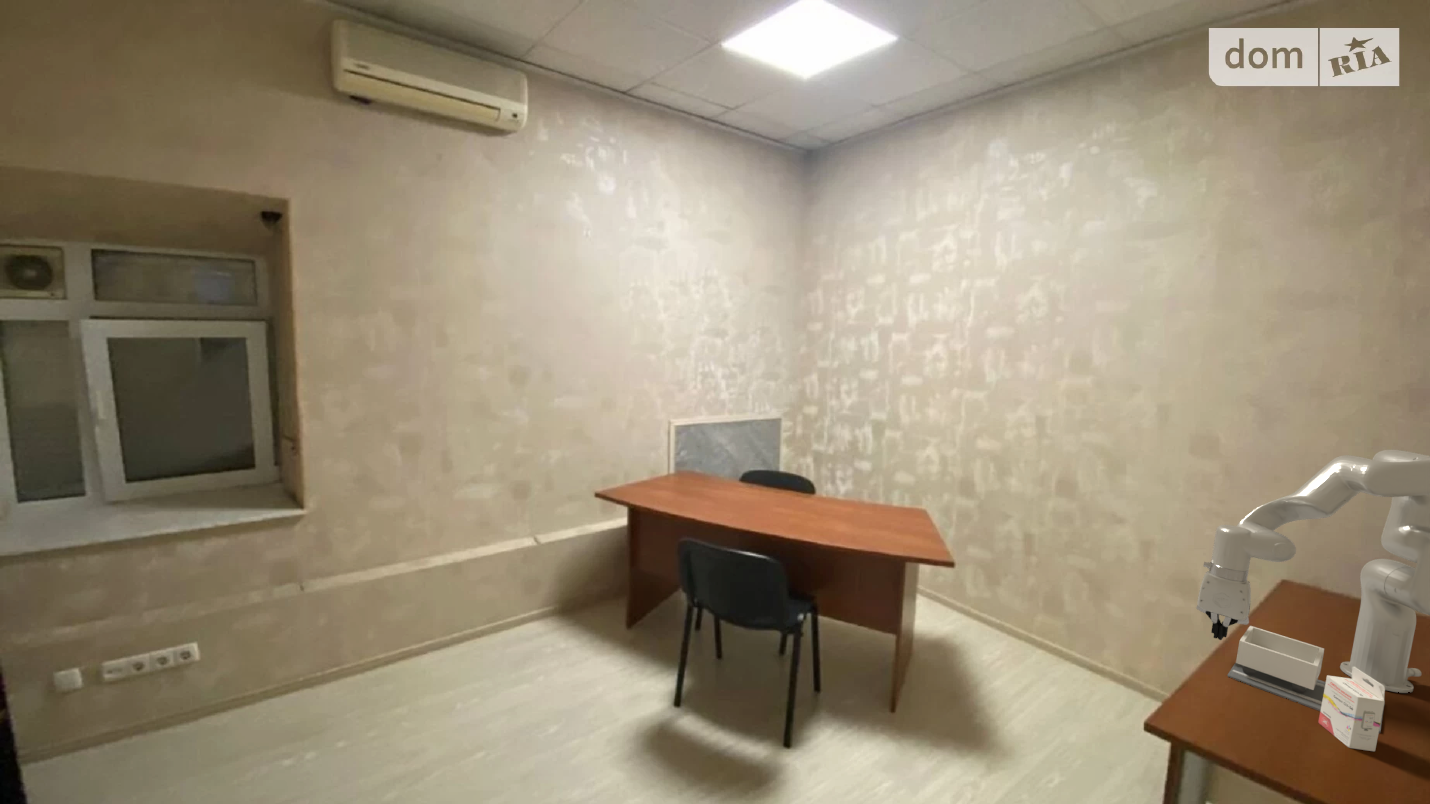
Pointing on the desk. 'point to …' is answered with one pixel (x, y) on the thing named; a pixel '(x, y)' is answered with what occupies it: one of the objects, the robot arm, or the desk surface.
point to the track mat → (1282, 687)
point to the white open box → (1280, 658)
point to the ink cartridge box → (1353, 709)
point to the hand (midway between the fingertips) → (1218, 637)
